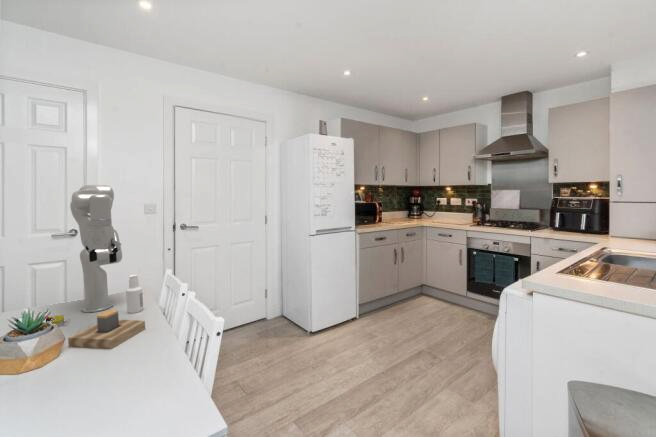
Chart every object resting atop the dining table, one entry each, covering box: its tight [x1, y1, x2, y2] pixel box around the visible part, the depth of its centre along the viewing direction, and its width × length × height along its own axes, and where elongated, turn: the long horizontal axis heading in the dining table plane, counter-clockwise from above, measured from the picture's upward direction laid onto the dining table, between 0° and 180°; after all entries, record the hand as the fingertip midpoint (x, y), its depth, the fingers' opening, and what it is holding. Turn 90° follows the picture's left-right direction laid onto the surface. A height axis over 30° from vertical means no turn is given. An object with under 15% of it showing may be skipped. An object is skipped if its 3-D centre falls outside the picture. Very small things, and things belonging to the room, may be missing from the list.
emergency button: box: [46, 314, 71, 328], centre depth 139 cm, size 9×4×15 cm
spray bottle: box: [125, 274, 144, 314], centre depth 156 cm, size 7×7×18 cm
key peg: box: [96, 309, 120, 333], centre depth 126 cm, size 4×6×10 cm, turn 173°
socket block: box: [67, 319, 146, 350], centre depth 127 cm, size 18×18×4 cm
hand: (103, 261), depth 138 cm, fingers open, 9 cm apart
